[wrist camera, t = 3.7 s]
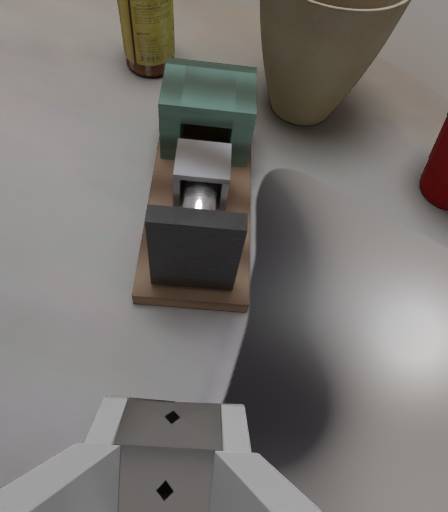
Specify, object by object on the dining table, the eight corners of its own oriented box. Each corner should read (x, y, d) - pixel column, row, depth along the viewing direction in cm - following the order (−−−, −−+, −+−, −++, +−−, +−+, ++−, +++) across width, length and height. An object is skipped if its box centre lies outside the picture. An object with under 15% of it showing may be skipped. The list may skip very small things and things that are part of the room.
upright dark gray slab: (232, 290, 37) (247, 230, 29) (150, 284, 37) (144, 221, 29) (236, 173, 44) (249, 101, 37) (168, 167, 44) (167, 92, 36)
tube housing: (246, 312, 38) (263, 263, 31) (133, 303, 38) (123, 251, 30) (249, 132, 50) (261, 67, 43) (163, 123, 50) (161, 56, 43)
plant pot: (348, 74, 58) (401, -61, 45) (364, 153, 50) (433, 19, 37) (239, 62, 57) (259, -79, 44) (238, 141, 49) (262, -1, 36)
